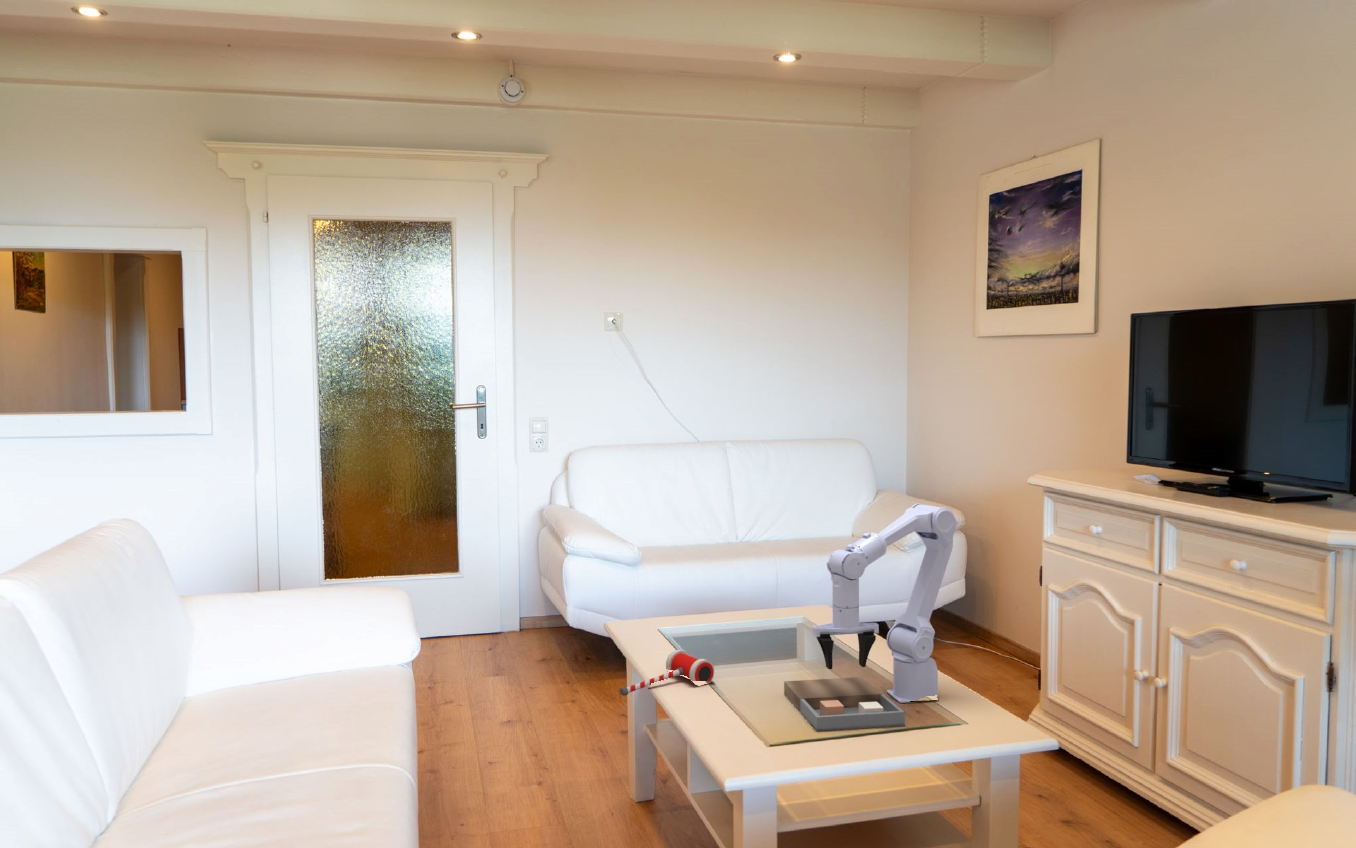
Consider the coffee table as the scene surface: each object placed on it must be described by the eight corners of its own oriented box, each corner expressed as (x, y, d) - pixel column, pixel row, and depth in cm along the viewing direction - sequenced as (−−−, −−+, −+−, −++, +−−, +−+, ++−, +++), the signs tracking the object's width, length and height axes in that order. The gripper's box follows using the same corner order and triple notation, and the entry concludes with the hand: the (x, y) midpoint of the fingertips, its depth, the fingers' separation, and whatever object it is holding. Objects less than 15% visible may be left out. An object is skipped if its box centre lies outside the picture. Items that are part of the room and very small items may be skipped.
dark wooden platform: (862, 689, 225) (862, 677, 225) (883, 707, 213) (883, 693, 213) (784, 694, 222) (784, 681, 222) (799, 712, 210) (799, 698, 210)
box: (883, 707, 213) (883, 694, 213) (904, 726, 201) (904, 712, 201) (800, 712, 210) (800, 699, 209) (816, 731, 198) (816, 717, 198)
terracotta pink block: (843, 706, 203) (843, 720, 204) (837, 700, 207) (837, 713, 207) (825, 707, 203) (825, 721, 203) (819, 701, 207) (819, 714, 207)
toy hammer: (635, 703, 217) (635, 675, 217) (608, 690, 227) (607, 663, 227) (715, 684, 231) (715, 658, 230) (686, 672, 240) (686, 647, 240)
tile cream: (883, 707, 202) (883, 722, 202) (876, 701, 206) (876, 715, 206) (864, 708, 202) (864, 723, 202) (858, 702, 206) (858, 716, 206)
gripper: (870, 599, 216) (870, 659, 217) (808, 603, 214) (808, 663, 214) (882, 607, 209) (882, 668, 210) (818, 610, 207) (818, 673, 207)
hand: (845, 667), depth 212 cm, fingers open, 7 cm apart
